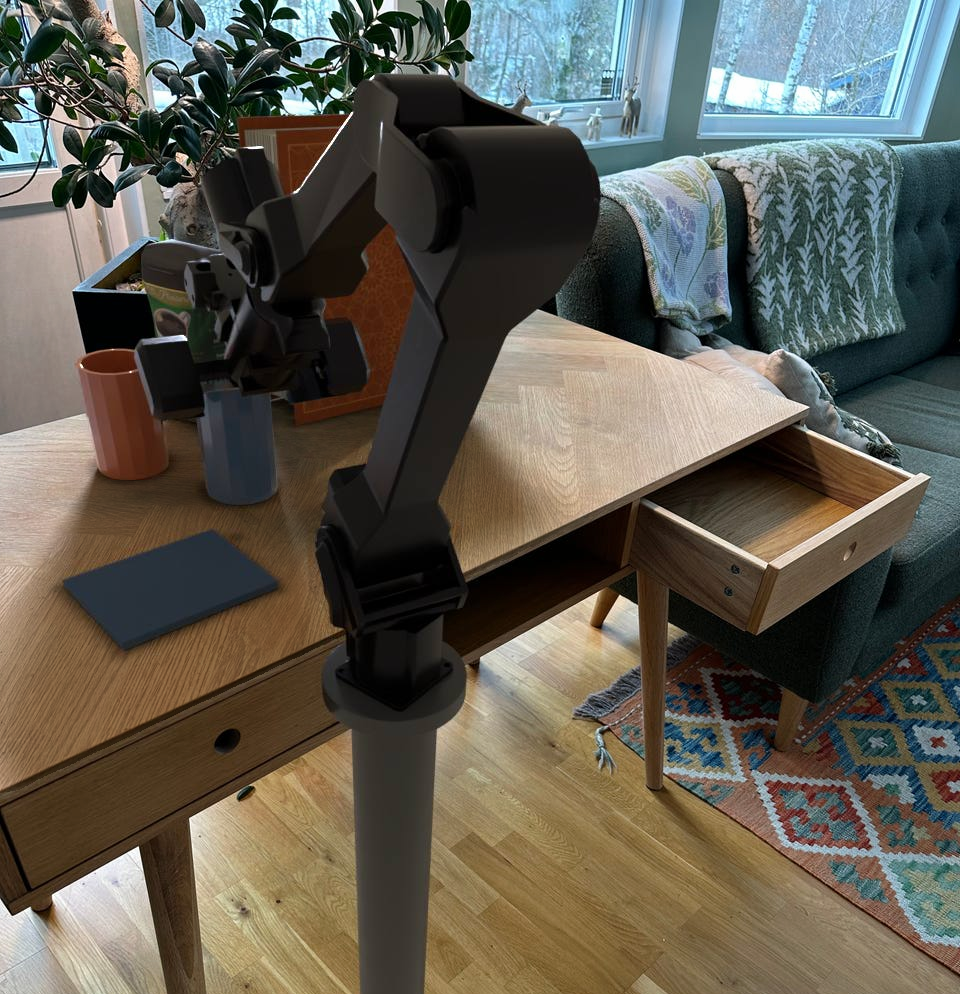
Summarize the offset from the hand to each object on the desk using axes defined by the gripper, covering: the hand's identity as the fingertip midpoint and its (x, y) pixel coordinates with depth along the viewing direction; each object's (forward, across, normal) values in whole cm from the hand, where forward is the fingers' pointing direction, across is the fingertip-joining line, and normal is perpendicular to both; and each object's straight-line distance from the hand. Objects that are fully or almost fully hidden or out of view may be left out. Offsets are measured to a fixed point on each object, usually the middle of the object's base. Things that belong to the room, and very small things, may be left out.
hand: (241, 406), depth 82 cm
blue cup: (+9, 0, +5) cm, 10 cm away
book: (+22, -21, -8) cm, 31 cm away
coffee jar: (+23, -2, -9) cm, 25 cm away
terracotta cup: (+16, +8, -2) cm, 18 cm away
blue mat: (-2, +11, +15) cm, 19 cm away
